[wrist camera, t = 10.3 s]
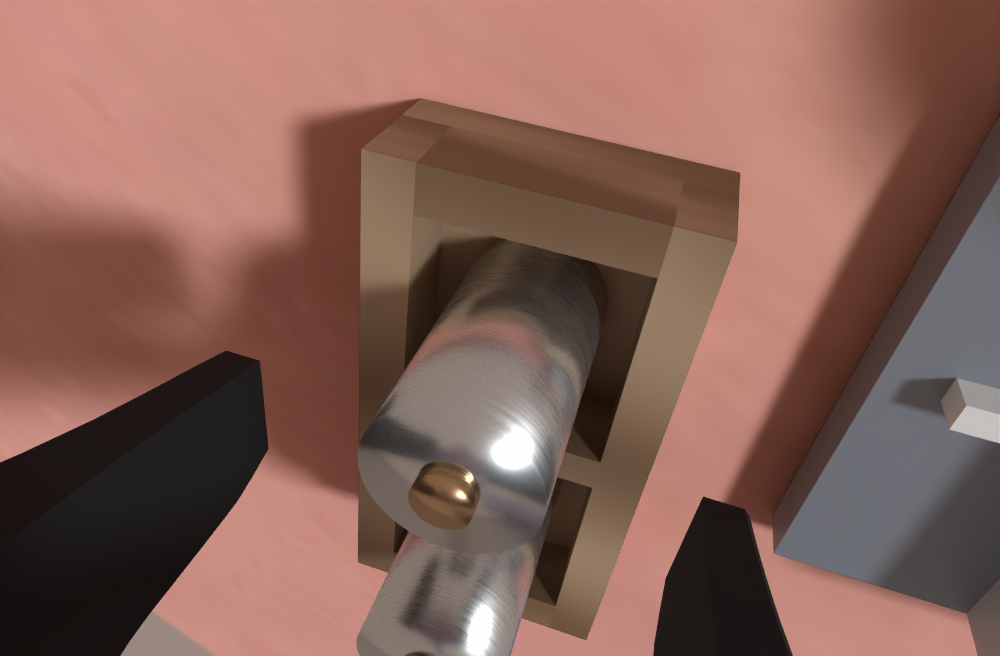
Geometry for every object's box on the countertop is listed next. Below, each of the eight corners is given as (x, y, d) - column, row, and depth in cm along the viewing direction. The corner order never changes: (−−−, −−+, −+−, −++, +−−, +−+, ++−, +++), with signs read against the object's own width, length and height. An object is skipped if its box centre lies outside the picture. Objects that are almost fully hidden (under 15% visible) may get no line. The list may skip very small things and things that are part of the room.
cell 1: (592, 370, 16) (523, 597, 11) (463, 333, 16) (345, 537, 12) (623, 254, 14) (556, 467, 9) (477, 216, 14) (344, 402, 10)
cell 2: (550, 523, 19) (485, 748, 14) (444, 489, 20) (348, 697, 15) (570, 445, 17) (502, 675, 13) (453, 411, 18) (346, 620, 13)
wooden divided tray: (603, 552, 21) (586, 640, 19) (398, 486, 22) (357, 562, 19) (740, 173, 13) (737, 242, 11) (420, 98, 14) (360, 149, 12)
